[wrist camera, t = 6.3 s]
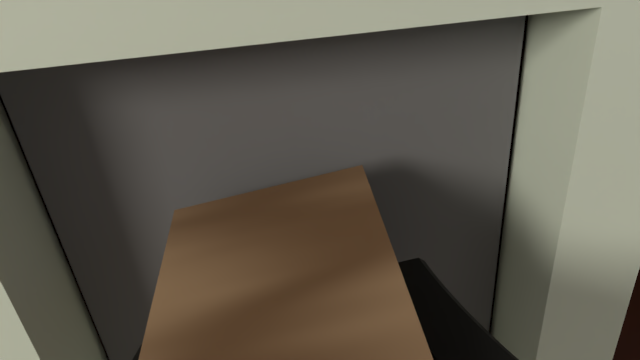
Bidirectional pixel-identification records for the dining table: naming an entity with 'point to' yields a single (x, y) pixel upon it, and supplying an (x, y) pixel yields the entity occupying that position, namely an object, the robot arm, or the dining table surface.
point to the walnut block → (284, 279)
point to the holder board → (322, 151)
